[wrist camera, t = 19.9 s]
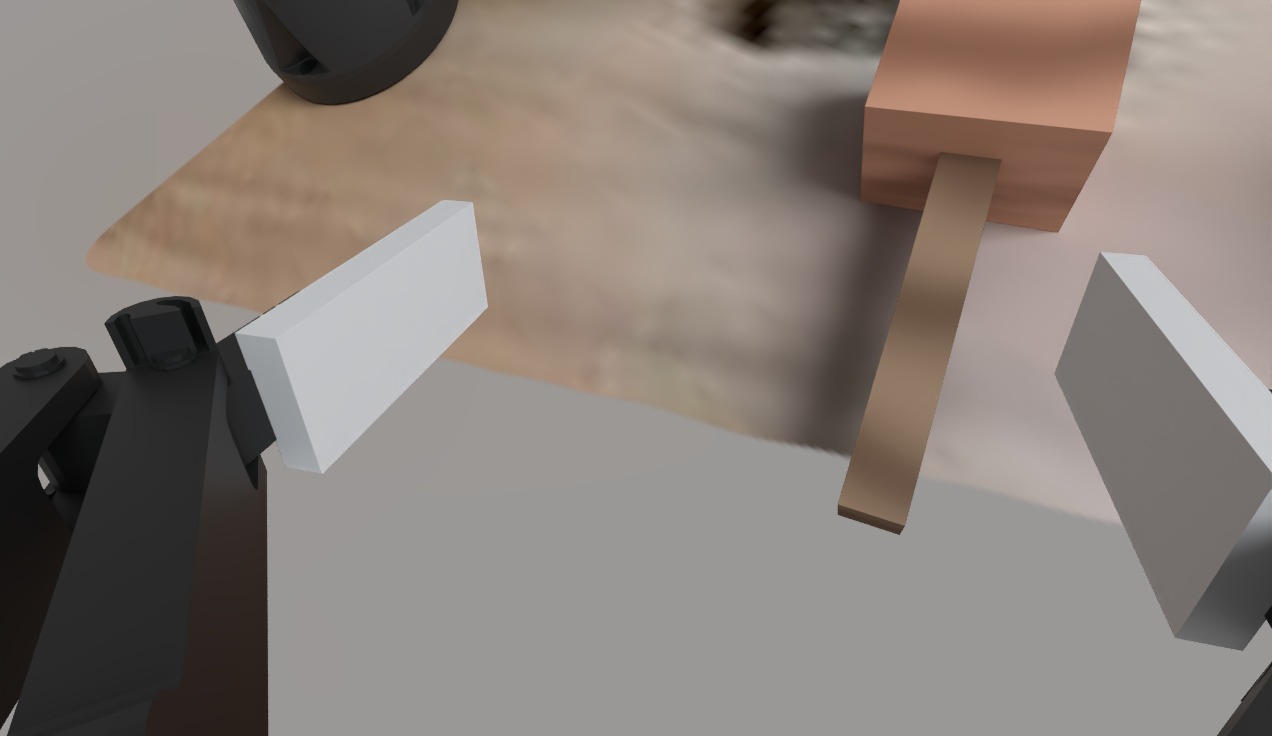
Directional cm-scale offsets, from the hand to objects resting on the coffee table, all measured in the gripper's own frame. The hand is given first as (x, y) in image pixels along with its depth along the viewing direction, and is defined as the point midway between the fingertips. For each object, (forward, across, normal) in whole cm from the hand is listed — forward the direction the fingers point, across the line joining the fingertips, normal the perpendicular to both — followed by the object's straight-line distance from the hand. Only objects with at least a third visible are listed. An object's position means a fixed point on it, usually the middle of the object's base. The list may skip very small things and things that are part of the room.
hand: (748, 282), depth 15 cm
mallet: (+18, +7, -8) cm, 21 cm away
